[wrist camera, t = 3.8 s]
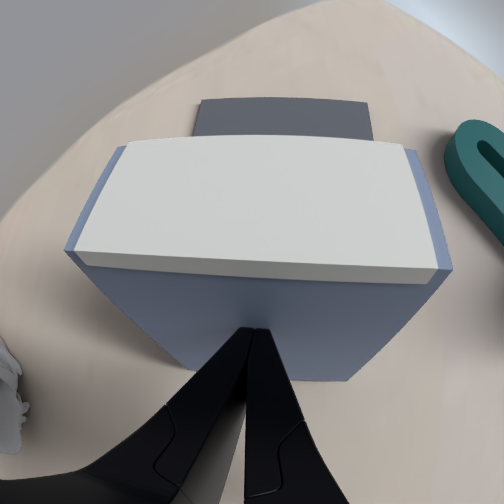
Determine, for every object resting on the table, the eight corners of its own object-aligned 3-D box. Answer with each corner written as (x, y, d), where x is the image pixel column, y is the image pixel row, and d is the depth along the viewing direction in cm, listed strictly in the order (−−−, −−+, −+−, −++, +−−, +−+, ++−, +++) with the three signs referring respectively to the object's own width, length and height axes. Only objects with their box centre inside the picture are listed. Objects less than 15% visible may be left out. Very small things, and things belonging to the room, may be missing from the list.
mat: (382, 304, 16) (385, 303, 16) (167, 292, 18) (165, 291, 17) (366, 106, 20) (367, 102, 20) (202, 103, 21) (201, 99, 21)
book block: (346, 382, 14) (455, 269, 5) (188, 370, 15) (60, 249, 6) (346, 316, 16) (416, 146, 7) (199, 307, 17) (117, 143, 8)
